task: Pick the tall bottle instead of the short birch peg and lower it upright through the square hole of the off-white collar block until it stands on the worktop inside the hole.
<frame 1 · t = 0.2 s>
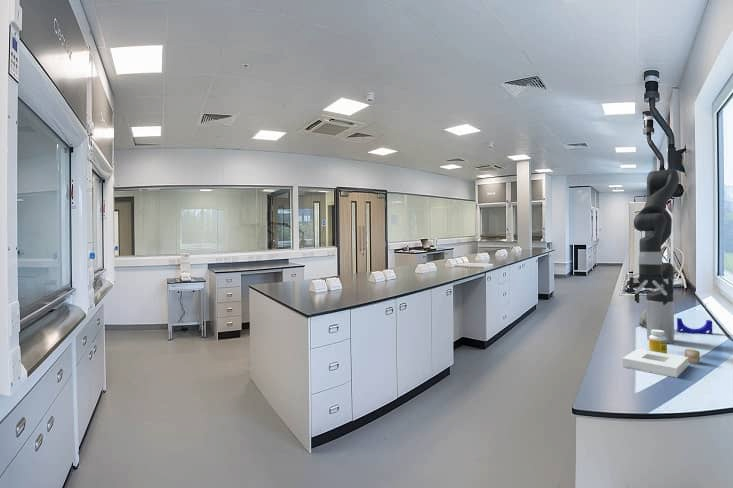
hand: (650, 303, 156), 18 cm above the countertop, tool pointing down, fingers open, 8 cm apart
supplement bottle: (658, 356, 146), on the countertop
mineral rock: (651, 330, 185), on the countertop
blue cradle block: (694, 333, 177), on the countertop
collar block: (655, 366, 136), on the countertop
short birch peg: (692, 362, 139), on the countertop
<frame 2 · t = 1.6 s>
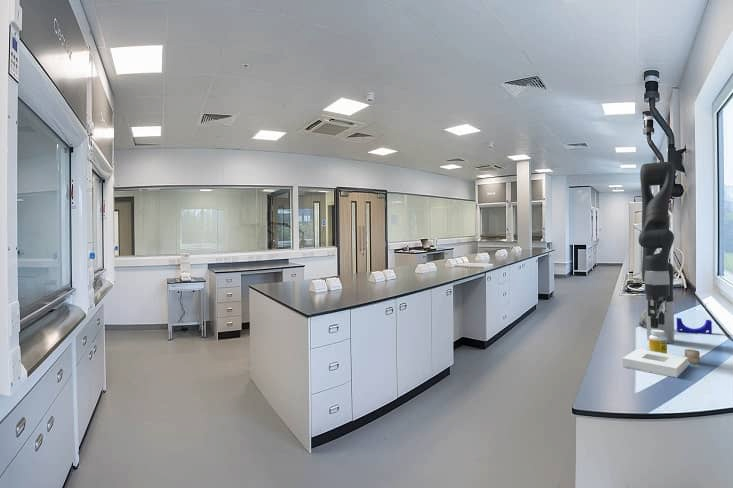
hand: (657, 326, 146), 11 cm above the countertop, tool pointing down, fingers open, 8 cm apart
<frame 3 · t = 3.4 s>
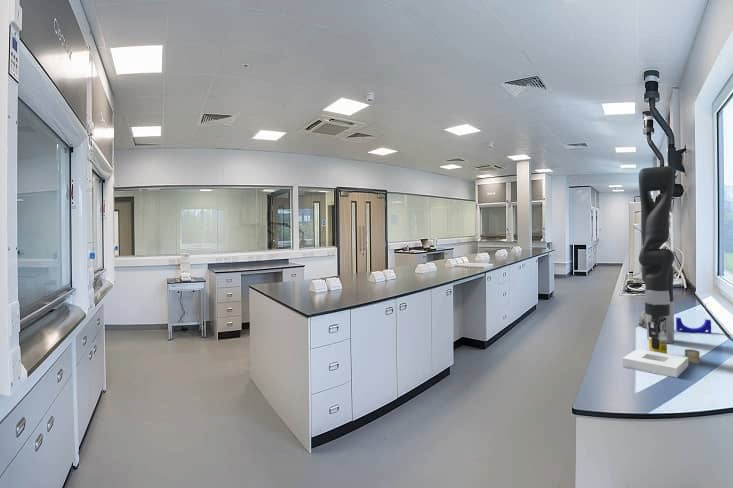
hand: (657, 346, 146), 3 cm above the countertop, tool pointing down, fingers closed on supplement bottle, 5 cm apart
supplement bottle: (658, 356, 146), on the countertop, touching gripper
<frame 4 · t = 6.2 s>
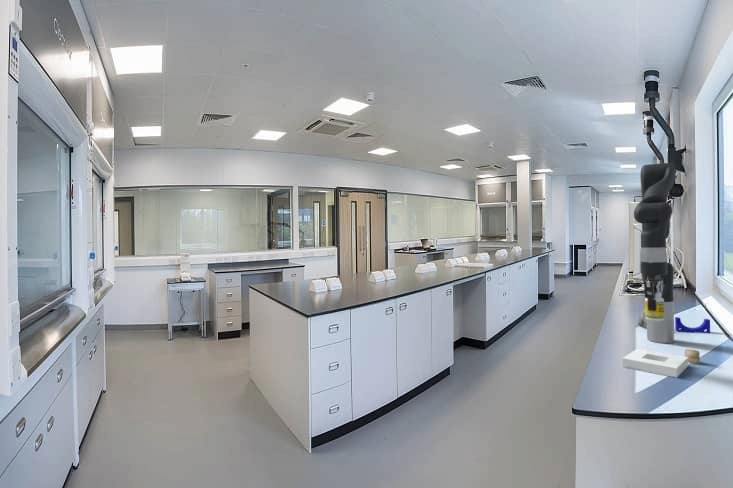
hand: (654, 309, 135), 20 cm above the countertop, tool pointing down, fingers closed on supplement bottle, 5 cm apart
supplement bottle: (654, 319, 135), point 16 cm above the countertop, touching gripper
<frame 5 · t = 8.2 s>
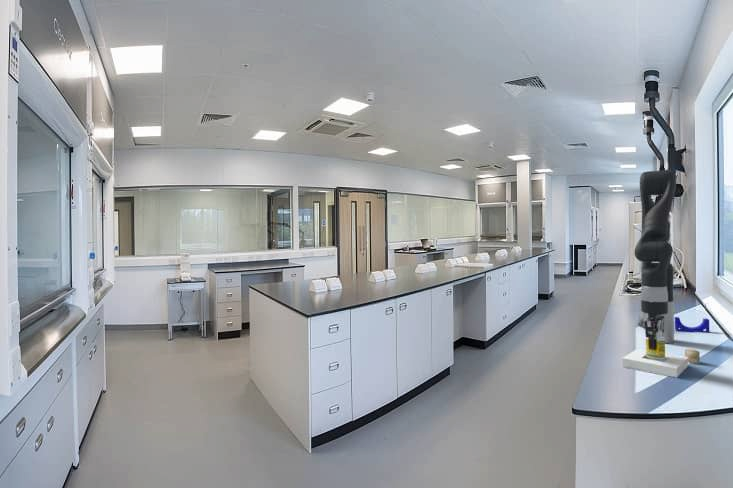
hand: (655, 347, 135), 7 cm above the countertop, tool pointing down, fingers closed on supplement bottle, 5 cm apart
supplement bottle: (655, 358, 135), point 3 cm above the countertop, touching gripper
when the fingers open (4 cm above the countertop, at t = 9.5 s): supplement bottle stays where it is, resting in collar block.
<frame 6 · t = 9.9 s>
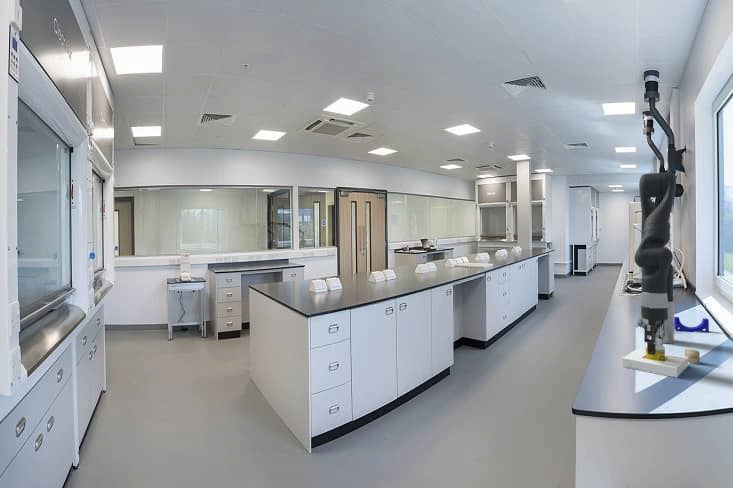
hand: (655, 351, 135), 5 cm above the countertop, tool pointing down, fingers open, 8 cm apart
supplement bottle: (655, 366, 136), resting in collar block
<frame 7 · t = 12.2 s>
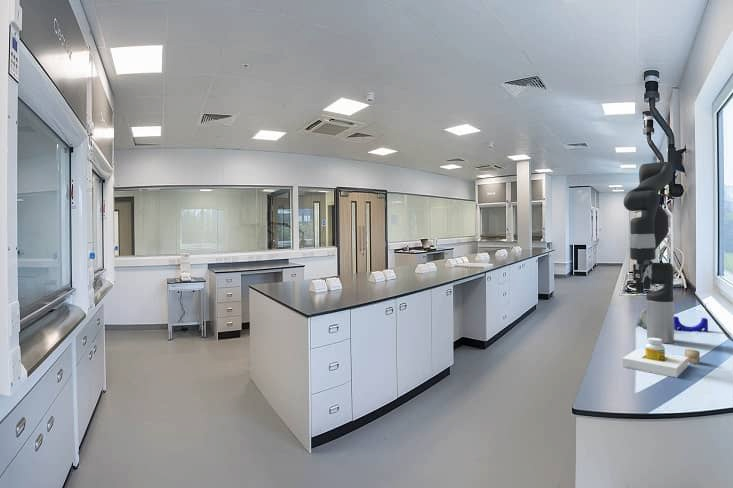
hand: (643, 290, 142), 25 cm above the countertop, tool pointing down, fingers open, 8 cm apart
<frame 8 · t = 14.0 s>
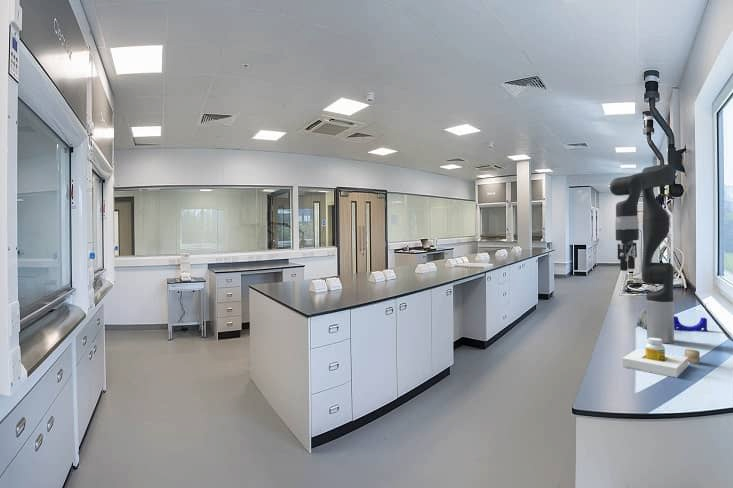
hand: (627, 269, 152), 32 cm above the countertop, tool pointing down, fingers open, 8 cm apart
at the end: supplement bottle 0.1 cm off-centre on the collar block, point 0.0 cm above the collar block's base; supplement bottle tilted 0°; short birch peg moved 0.1 cm from its start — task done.
